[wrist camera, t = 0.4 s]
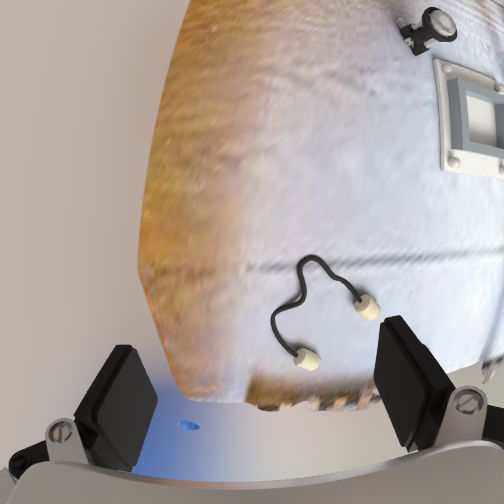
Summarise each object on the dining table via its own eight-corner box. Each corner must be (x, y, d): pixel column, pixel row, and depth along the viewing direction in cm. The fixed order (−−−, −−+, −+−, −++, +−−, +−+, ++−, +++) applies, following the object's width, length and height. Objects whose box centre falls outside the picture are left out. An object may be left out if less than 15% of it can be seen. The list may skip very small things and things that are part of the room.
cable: (241, 318, 45) (239, 330, 42) (315, 243, 41) (320, 250, 38) (309, 366, 48) (311, 379, 45) (379, 304, 44) (387, 314, 41)
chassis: (432, 60, 30) (446, 54, 26) (497, 83, 30) (510, 81, 26) (440, 170, 36) (455, 172, 32) (502, 178, 35) (516, 182, 32)
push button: (384, 25, 29) (414, -1, 19) (407, 17, 28) (437, -7, 18) (410, 61, 31) (446, 43, 21) (431, 51, 30) (467, 35, 20)
